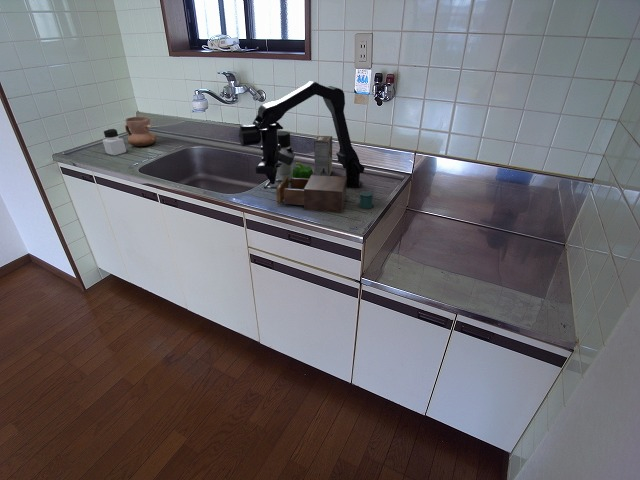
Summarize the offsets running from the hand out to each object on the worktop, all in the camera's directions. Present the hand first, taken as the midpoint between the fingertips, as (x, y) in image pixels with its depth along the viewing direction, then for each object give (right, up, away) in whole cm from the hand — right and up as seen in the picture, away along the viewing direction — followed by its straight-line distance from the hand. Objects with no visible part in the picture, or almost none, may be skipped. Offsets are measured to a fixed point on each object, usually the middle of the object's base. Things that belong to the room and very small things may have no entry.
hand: (273, 183), depth 138 cm
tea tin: (+35, -8, -2) cm, 36 cm away
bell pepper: (+11, +1, +15) cm, 18 cm away
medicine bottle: (-89, +24, +54) cm, 107 cm away
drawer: (+7, -5, +2) cm, 8 cm away
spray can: (+2, +5, +21) cm, 22 cm away
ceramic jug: (-81, +32, +67) cm, 110 cm away
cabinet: (+20, -7, 0) cm, 21 cm away
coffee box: (+19, +8, +26) cm, 34 cm away
